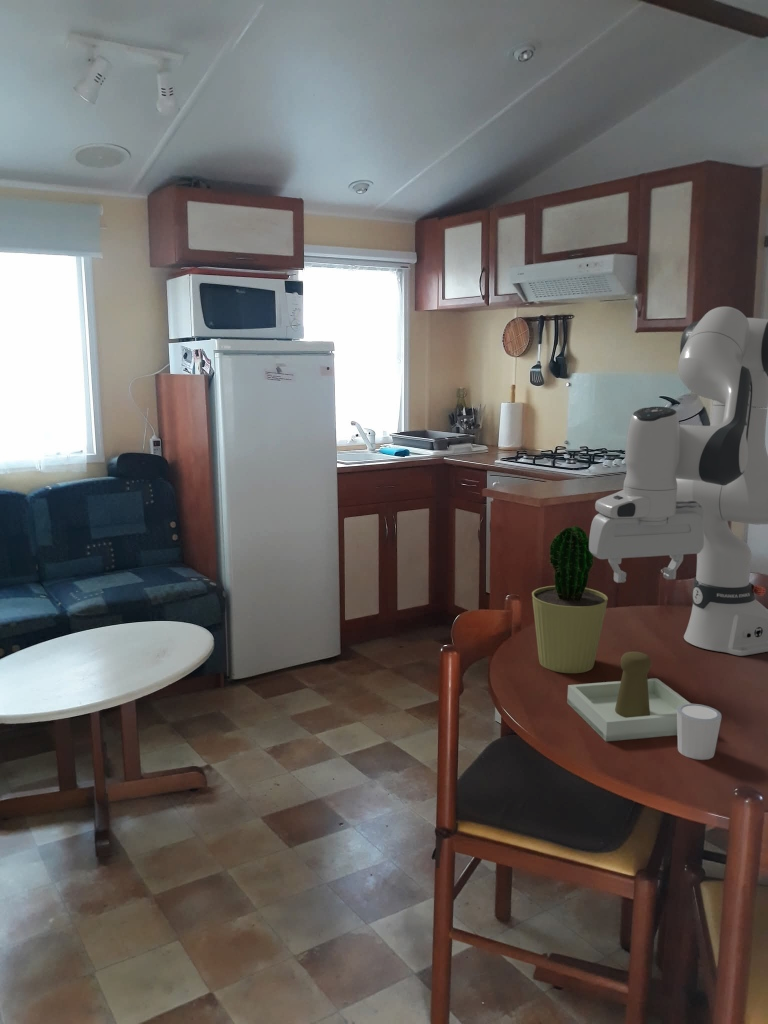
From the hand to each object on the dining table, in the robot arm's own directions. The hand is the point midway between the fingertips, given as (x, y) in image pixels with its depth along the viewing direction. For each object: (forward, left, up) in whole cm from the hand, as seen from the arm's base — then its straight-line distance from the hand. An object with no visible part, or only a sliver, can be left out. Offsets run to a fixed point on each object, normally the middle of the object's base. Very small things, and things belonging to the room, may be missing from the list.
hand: (644, 580), depth 146 cm
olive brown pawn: (+1, +1, -24) cm, 24 cm away
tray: (+1, +1, -25) cm, 25 cm away
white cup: (-3, +15, -25) cm, 30 cm away
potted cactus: (+2, -26, -25) cm, 36 cm away
